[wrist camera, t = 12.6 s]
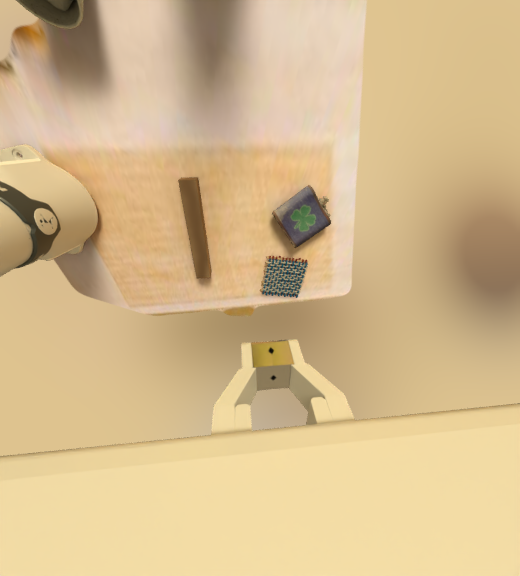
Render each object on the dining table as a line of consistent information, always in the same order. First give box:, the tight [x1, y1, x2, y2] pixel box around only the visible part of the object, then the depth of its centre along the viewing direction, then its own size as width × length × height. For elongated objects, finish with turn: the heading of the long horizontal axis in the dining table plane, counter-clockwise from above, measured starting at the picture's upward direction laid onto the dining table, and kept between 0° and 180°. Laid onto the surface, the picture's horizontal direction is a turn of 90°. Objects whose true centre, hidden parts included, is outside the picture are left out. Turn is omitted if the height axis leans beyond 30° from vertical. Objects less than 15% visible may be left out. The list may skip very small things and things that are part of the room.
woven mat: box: [260, 256, 308, 298], centre depth 55 cm, size 10×11×2 cm
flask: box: [272, 185, 331, 248], centre depth 46 cm, size 9×3×11 cm
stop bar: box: [178, 178, 211, 278], centre depth 46 cm, size 3×20×3 cm, turn 1°
